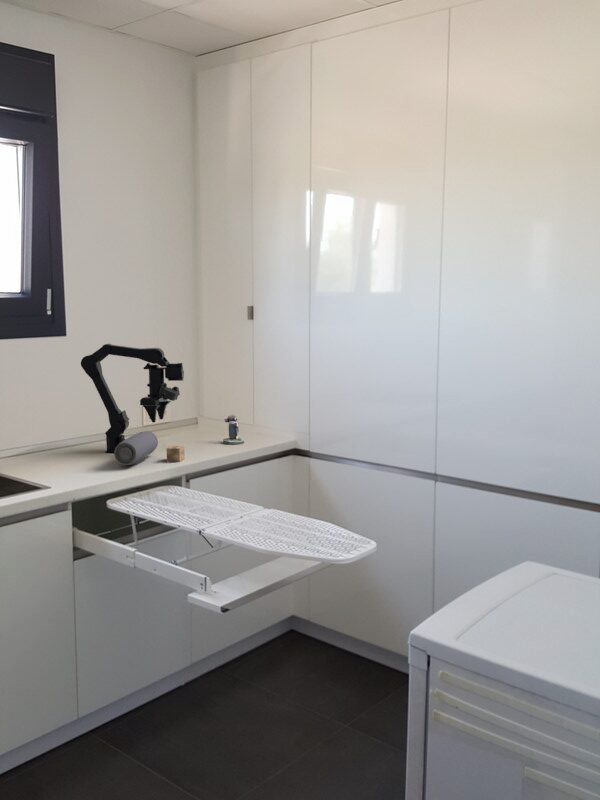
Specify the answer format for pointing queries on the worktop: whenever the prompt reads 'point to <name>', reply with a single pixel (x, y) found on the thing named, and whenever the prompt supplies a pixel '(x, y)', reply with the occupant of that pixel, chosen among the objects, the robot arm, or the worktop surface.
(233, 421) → the figurine
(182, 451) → the letter block
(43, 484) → the worktop surface
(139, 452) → the bluetooth speaker
